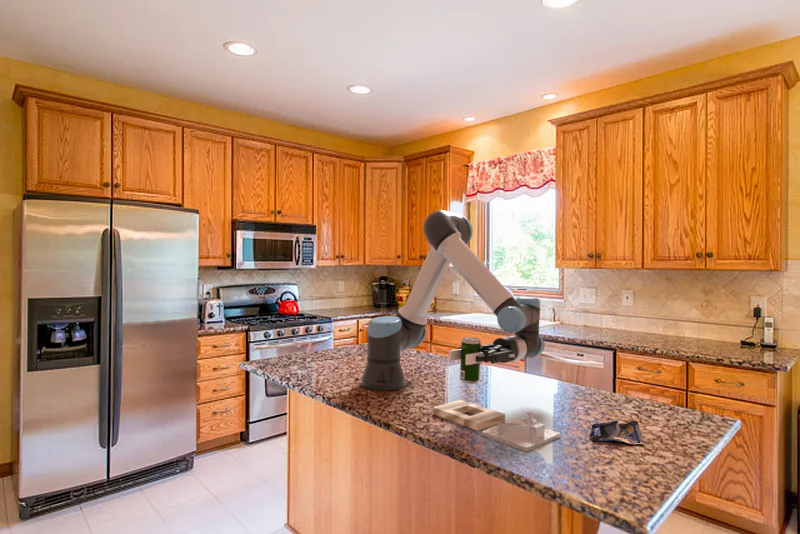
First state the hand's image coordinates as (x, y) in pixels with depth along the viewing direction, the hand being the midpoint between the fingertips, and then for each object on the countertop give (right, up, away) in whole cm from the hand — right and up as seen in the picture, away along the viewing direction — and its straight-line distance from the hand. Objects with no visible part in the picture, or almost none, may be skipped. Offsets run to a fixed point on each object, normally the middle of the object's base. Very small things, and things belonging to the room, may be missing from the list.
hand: (458, 357), depth 124 cm
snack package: (+38, -19, -9) cm, 43 cm away
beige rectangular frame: (+3, -18, +4) cm, 18 cm away
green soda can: (+4, -8, +4) cm, 9 cm away
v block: (+14, -18, -8) cm, 24 cm away
